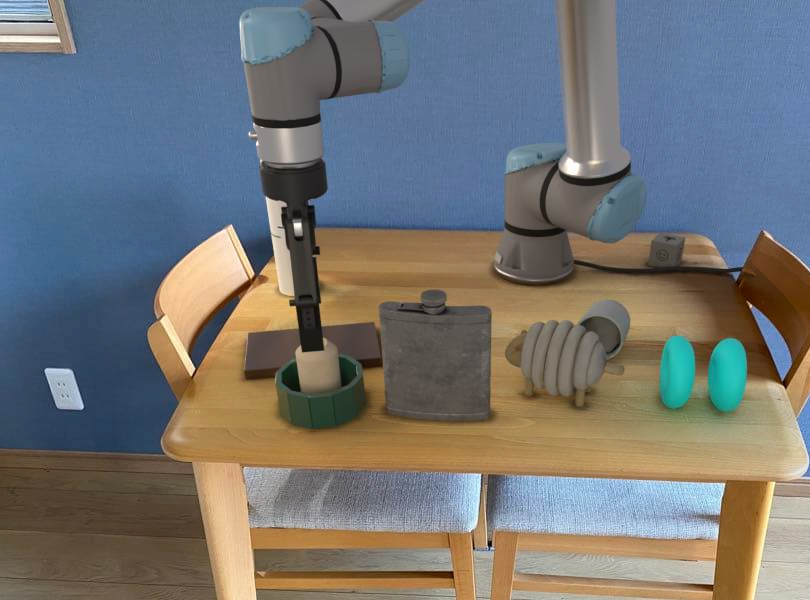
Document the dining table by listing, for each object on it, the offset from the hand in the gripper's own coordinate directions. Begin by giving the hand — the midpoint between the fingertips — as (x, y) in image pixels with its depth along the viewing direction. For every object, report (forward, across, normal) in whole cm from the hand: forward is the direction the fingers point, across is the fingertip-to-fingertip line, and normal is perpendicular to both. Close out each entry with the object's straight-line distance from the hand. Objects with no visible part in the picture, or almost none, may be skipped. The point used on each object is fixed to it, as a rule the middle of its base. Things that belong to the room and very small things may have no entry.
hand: (312, 325), depth 98 cm
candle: (+12, 0, 0) cm, 13 cm away
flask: (+12, +5, +16) cm, 21 cm away
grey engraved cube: (+12, -38, +67) cm, 78 cm away
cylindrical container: (+12, -40, -3) cm, 42 cm away
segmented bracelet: (+12, 0, 0) cm, 12 cm away
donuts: (+12, +10, +51) cm, 54 cm away
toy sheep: (+12, +4, +33) cm, 36 cm away
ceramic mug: (+12, -8, +42) cm, 45 cm away
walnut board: (+12, -15, -1) cm, 19 cm away
